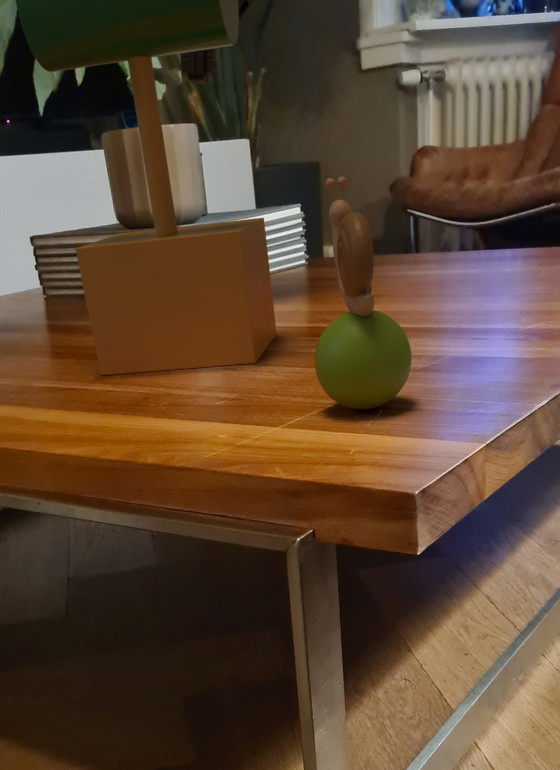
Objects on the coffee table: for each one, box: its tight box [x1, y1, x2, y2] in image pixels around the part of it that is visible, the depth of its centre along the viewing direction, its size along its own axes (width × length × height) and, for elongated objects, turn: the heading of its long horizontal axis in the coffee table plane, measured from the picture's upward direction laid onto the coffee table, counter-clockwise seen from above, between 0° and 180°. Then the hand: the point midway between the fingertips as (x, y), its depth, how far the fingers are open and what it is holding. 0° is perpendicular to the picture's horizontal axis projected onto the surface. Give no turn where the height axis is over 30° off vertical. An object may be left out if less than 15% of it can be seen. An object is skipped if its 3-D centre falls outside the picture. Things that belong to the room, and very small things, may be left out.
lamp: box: [15, 0, 278, 376], centre depth 66 cm, size 10×13×27 cm
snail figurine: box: [314, 176, 413, 411], centre depth 50 cm, size 5×6×12 cm
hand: (197, 81), depth 81 cm, fingers closed
